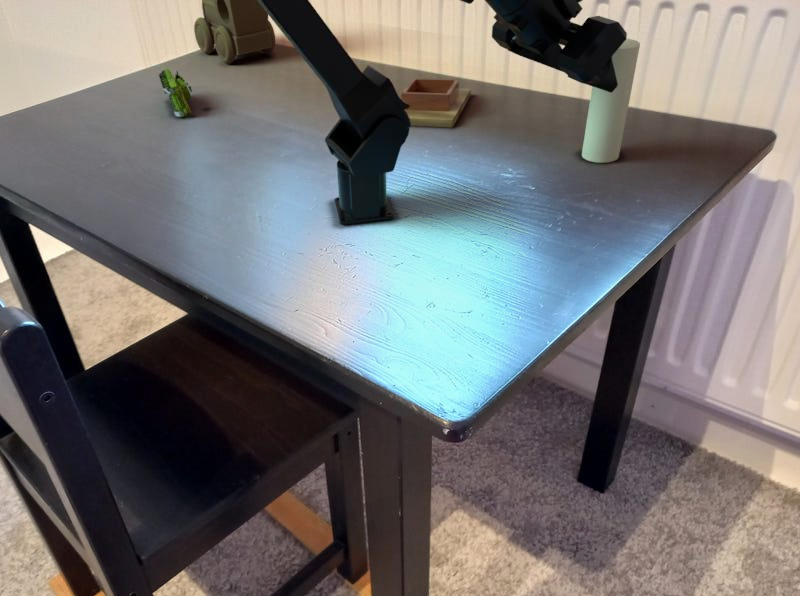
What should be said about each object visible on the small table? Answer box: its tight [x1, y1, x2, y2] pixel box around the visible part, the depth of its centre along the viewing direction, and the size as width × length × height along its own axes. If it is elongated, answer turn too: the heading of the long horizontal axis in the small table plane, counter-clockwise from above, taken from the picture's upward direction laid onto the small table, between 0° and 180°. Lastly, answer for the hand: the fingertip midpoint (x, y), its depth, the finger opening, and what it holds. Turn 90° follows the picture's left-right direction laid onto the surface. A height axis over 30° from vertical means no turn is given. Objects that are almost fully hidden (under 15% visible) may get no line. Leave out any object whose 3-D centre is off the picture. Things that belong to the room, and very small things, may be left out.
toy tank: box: [158, 67, 193, 118], centre depth 123 cm, size 7×19×10 cm
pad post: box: [581, 38, 641, 164], centre depth 88 cm, size 5×5×14 cm
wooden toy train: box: [193, 0, 276, 65], centre depth 141 cm, size 20×11×17 cm, turn 31°
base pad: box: [400, 77, 472, 129], centre depth 110 cm, size 14×10×4 cm
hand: (589, 78), depth 86 cm, fingers open, 9 cm apart
